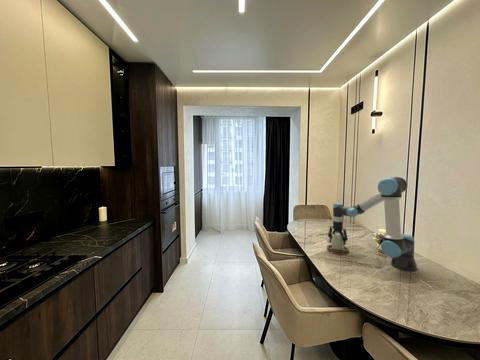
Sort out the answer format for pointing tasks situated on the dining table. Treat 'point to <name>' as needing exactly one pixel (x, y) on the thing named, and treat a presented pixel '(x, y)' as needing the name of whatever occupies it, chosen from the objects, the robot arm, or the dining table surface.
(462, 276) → the dining table surface
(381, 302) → the dining table surface
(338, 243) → the grey-green tapered block
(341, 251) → the trivet
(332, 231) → the sugar bowl
